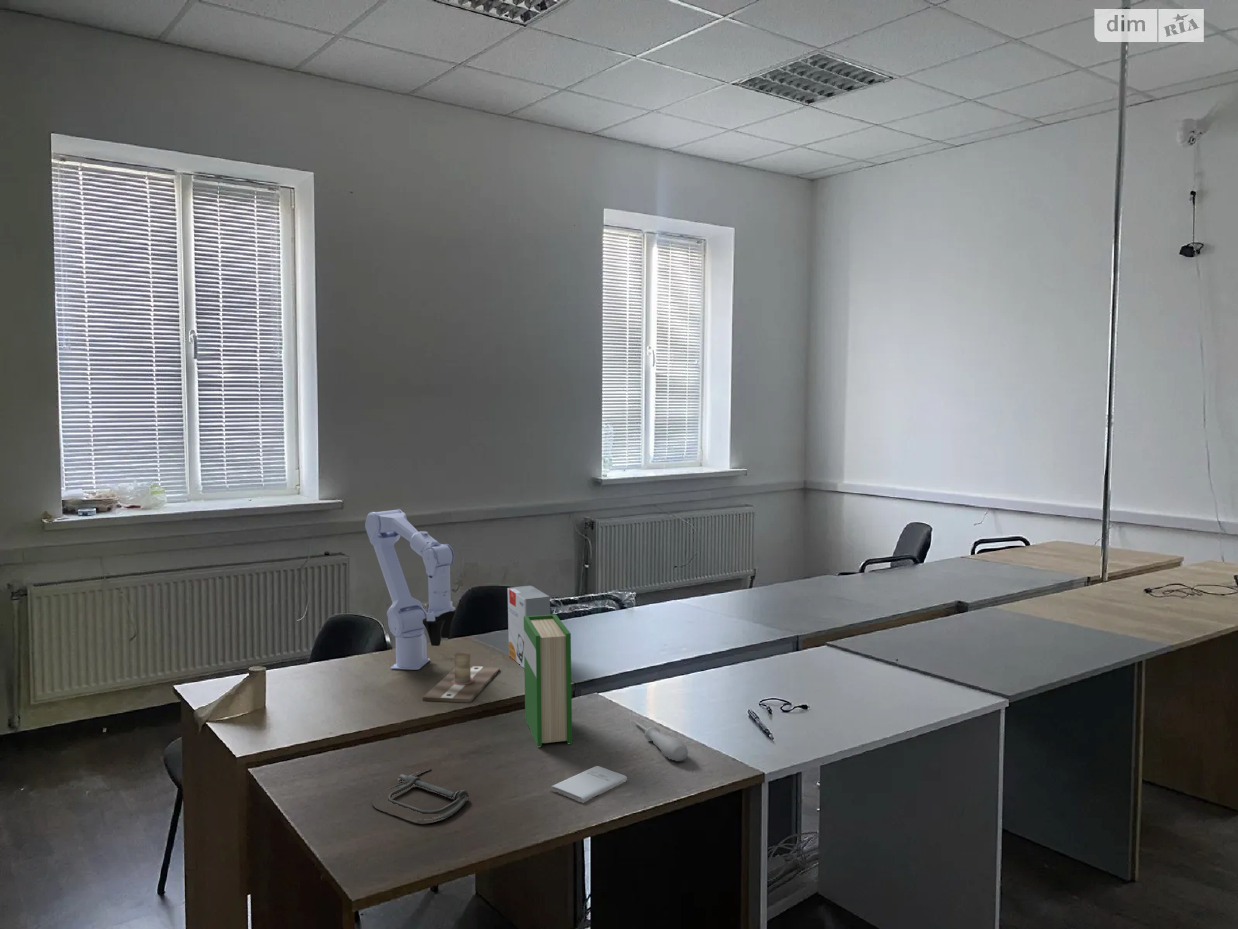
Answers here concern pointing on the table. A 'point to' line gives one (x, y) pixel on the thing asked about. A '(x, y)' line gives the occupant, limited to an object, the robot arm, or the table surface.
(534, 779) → the table surface
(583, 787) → the external hard drive
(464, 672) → the tan cylinder
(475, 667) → the board
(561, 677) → the hardback book
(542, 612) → the hard drive box
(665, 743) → the screwdriver
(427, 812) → the c clamp
